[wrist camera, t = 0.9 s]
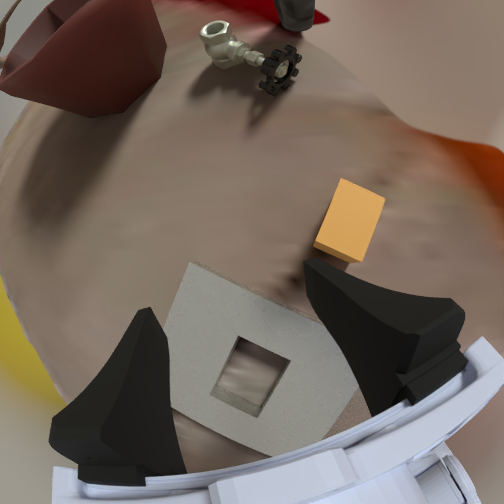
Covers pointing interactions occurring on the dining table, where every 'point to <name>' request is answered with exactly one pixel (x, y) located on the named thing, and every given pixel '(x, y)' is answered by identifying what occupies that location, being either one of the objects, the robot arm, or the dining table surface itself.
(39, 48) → the bucket
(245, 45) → the valve
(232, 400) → the grey plate with hole
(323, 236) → the orange rectangular block
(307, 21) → the beverage cup
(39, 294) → the dining table surface
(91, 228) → the dining table surface
